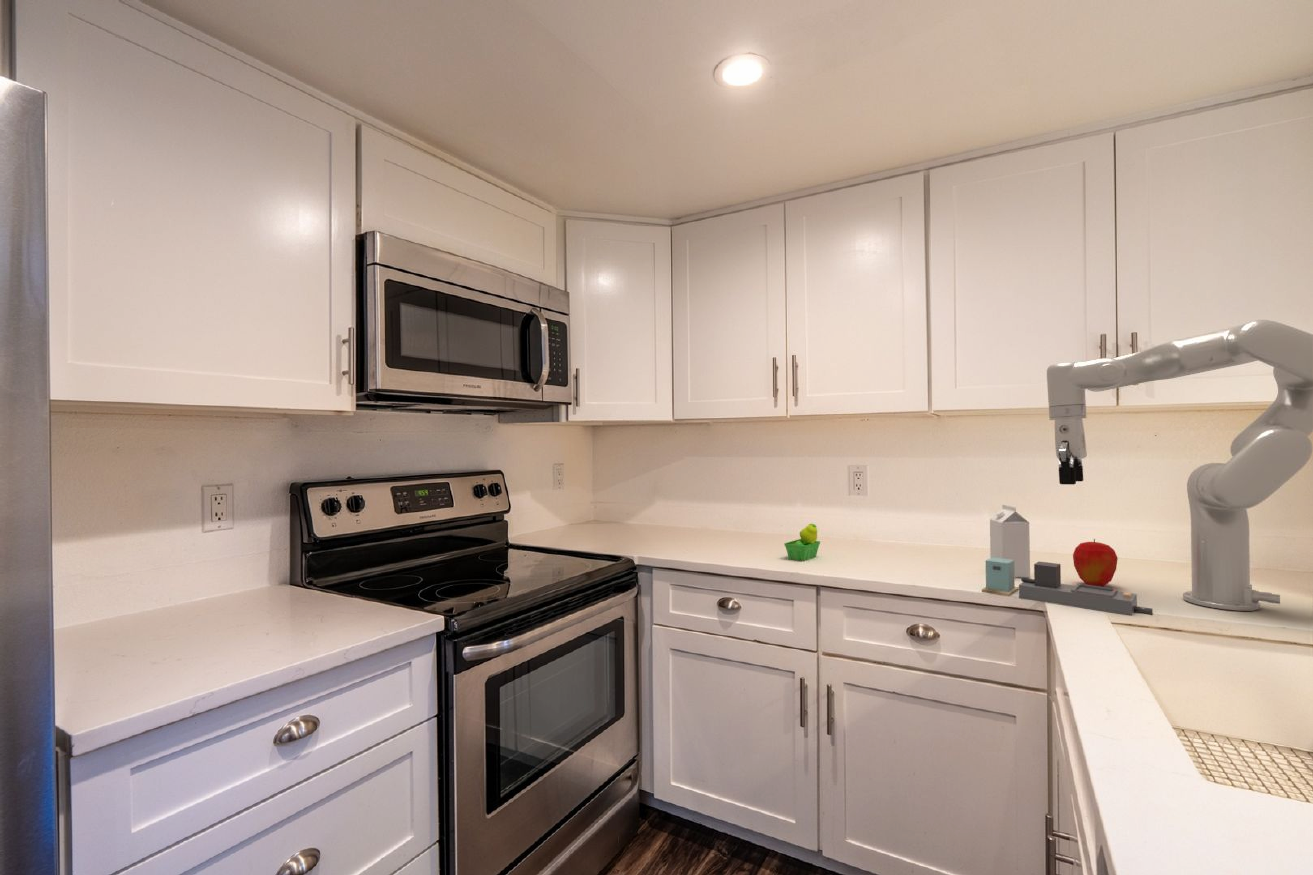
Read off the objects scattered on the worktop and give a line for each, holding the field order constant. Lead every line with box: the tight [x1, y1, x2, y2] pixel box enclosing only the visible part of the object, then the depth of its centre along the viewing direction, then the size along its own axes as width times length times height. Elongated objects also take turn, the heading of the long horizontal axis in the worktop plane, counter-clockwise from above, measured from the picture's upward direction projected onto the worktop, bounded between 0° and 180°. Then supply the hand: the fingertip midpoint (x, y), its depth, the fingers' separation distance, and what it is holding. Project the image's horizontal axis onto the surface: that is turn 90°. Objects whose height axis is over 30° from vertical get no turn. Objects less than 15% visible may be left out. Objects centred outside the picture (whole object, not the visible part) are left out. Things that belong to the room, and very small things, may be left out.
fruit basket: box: [783, 523, 821, 562], centre depth 189 cm, size 11×9×11 cm
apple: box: [1072, 538, 1119, 587], centre depth 150 cm, size 9×9×12 cm
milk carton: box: [989, 504, 1031, 578], centre depth 163 cm, size 7×7×19 cm
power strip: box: [1018, 561, 1154, 616], centre depth 135 cm, size 24×8×8 cm, turn 45°
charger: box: [985, 557, 1016, 592], centre depth 146 cm, size 5×5×7 cm
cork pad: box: [981, 586, 1019, 597], centre depth 147 cm, size 6×8×1 cm
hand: (1071, 482), depth 145 cm, fingers open, 9 cm apart
